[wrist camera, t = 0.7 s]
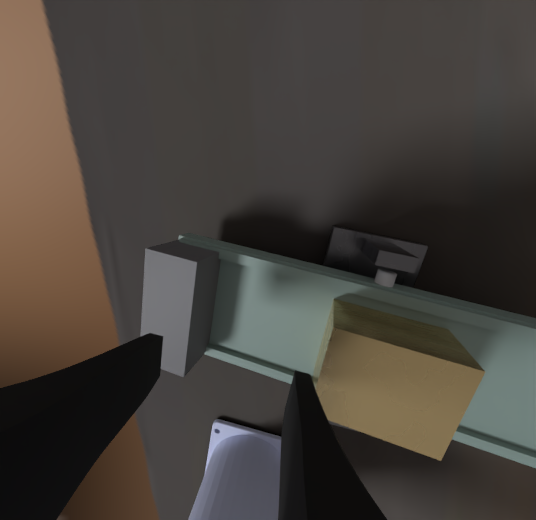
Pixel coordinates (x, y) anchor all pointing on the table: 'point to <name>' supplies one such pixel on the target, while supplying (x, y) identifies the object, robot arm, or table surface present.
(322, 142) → the table surface
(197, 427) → the table surface
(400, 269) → the pivot stand
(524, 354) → the beam
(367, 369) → the block
